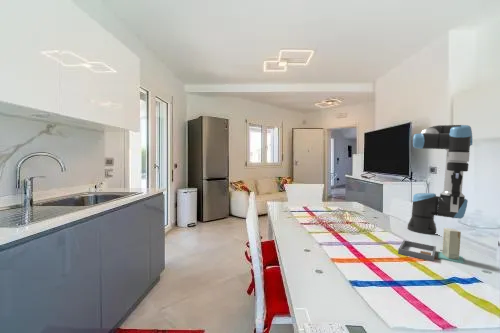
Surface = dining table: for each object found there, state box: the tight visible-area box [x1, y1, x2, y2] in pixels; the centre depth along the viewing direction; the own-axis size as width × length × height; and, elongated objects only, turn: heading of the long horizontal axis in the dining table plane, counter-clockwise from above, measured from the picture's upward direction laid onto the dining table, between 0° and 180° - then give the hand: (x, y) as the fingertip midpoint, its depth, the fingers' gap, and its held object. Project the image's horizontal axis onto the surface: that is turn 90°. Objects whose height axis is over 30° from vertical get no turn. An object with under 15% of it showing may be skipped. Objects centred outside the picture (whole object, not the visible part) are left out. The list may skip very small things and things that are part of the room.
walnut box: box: [419, 250, 432, 255], centre depth 123 cm, size 5×4×2 cm
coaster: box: [437, 251, 464, 264], centre depth 123 cm, size 9×9×1 cm
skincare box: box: [441, 227, 462, 259], centre depth 123 cm, size 6×4×12 cm
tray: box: [397, 239, 437, 262], centre depth 129 cm, size 18×14×2 cm
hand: (453, 209), depth 123 cm, fingers open, 13 cm apart
